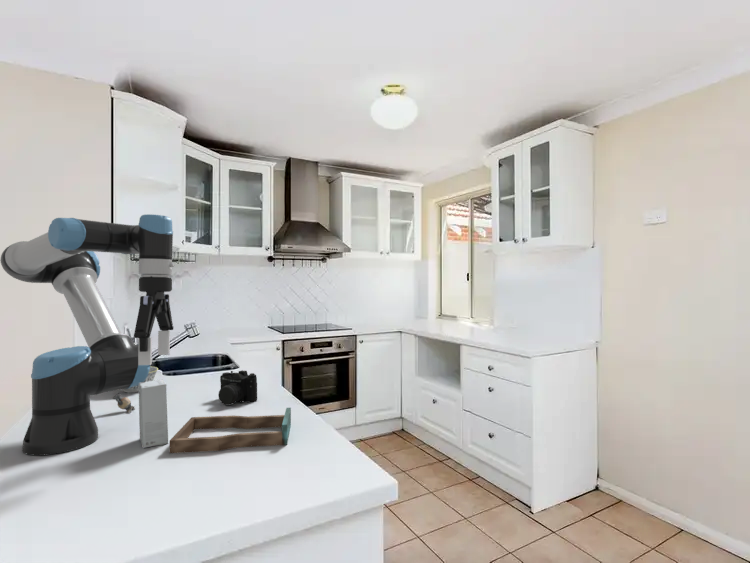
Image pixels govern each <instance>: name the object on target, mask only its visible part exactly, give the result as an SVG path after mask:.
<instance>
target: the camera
mask: <svg viewBox="0 0 750 563" xmlns="http://www.w3.org/2000/svg"><path fill="white" fill-rule="evenodd" d="M233 371H234V370H230V372H223V373H222V374H221V375H220V378H219V379H220V380H219V381H220V388H219V391H218V400H219V402H220V403H221V404H222V405H224V406H231V405H233V404H235V403H256V402H257V401H258V380H257V377H258V376H257V374H256V373H255V372H251V373H249V374H248V371H247V370H243V369H242V370H238V372H233Z"/></svg>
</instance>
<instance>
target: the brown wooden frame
mask: <svg viewBox="0 0 750 563" xmlns="http://www.w3.org/2000/svg"><path fill="white" fill-rule="evenodd" d="M291 409H292V407H286V408H285V413H284V414H277V415H251V416H245V415H244V416H243V415H215V416H212V415H211V416H194V417H193V416H192V417H190V418H189V420H187V422H185V424H183V425H182V427H181V428H179V430H178V431H177V432H176V433H175V434H174V435H173V437H171V438H170V440H169V454H185V453H187V454H188V453H201V452H203V453H204V452H205V453H206V452H218V451H219V452H220V451H225V450H230V449H236V448H248V447H249V448H252V447H253V448H254V447H269V446H270V447H271V446H272V447H273V446H287V445H288V443H289V436H290V431H291V427H292V426H291V425H292V410H291ZM231 428H232V429H243V430H245V429H246V430H247V429H248V430H250V429H251V430H253V429H254V430H255V429H270V428H275V429H277V428H281V430H279V431H277V430H276V431H262V432H261V431H260V432H258V431H257V432H239V433H232V434H226V435H221V436H202V437H201V436H200V437H199V436H197V437H190V436H191V435H192V433H194V431H195V430H210V429H211V430H212V429H231Z"/></svg>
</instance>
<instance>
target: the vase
mask: <svg viewBox="0 0 750 563" xmlns="http://www.w3.org/2000/svg"><path fill="white" fill-rule="evenodd" d="M112 400H114V401H116V402H117V407H118V408H120V410H126V413H127V414H131V413H132V410H133V411H135V409H136V407H135V406H136V405H132V403H131V399H129V398H128V397H126V396H125V397H123V396H122V395H121V393H117V394H116V395H115V396H113V397H112Z"/></svg>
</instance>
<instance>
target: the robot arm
mask: <svg viewBox="0 0 750 563" xmlns="http://www.w3.org/2000/svg"><path fill="white" fill-rule="evenodd" d="M138 221H139V222H138V224H136V225H135V224H134V225H133V224H122V223H114V222H105V221H96V220H87V219H79V218H74V217H56V218H54V219H52V221H51V222H50V223H49V226H48V231H47V232H46V233H43V234H41V235H39V236H36V237H34V238H32V239H30V240H28V241H27V240H26V241H24V240H23V241H22V240H21V241H16V242H15V243H12V244H10V245H8V246H7V247H5V249H4V250H3V251H2V253H1V254H0V264H1V267H2V270H3V271H5V273H6V274H8V275H9V276H10V277H12V278H14V279H15V280H18V281H20V282H25V283H31V284H33V283H35V284H51V286H52V287H53V288H54V291H55V292H57V293H59V294H61V295H63V296H64V298H65V300H66V302H67V304H68V306H69V308H70V311H71V313H72V315H73V317H74V319H75V321H76V324H77V325H78V328H79V330H80V332H81V334H82V336H83V338H84V340H85V342H86V344H87V346H86V345H85V346H84V345H83V346H82V345H78V346H72V347H64V348H63V347H62V348H58V349H54V350H50V351H47V352H44V353H41V354H39V355H38V356H36V357H35V358H34V360H33V362H32V370H31V374H30V378H31V418H30V422H29V423H28V427H27V430H26V431H25V435H24V437H23V440H22V452H23V454H25V453H27V454H26V455H29V454H34V455H33V456H47V455H46V454H49V455H55V454H56V453H57V454H62V453H65V452H66V453H67V452H70V451H74V450H78V449H81V448H84V447H86V446H89V445H90V444H93V443H95V442H96V441H97V440H98V439H99V428H98V425H97V422H96V419H95V417H94V415H93V412H92V410H91V397H92V396H97V395H101V394H102V395H103V394H107V393H111V392H115V391H120V390H123V389H129V388H130V387H134V386H138V385H139V383H141V382H144V381H145V380H146V378H147V376H148V374H149V370H150V366H152V360H153V357H152V355H153V353H152V352H153V348H152V347H153V346H152V345H153V344H152V343H153V342H152V341H153V337H151V334H152V330H153V327H154V323H155V320H156V321H157V325H158V328H159V330H158V331H157V334H158V335H157V343H158V344H157V355H158V356H169V355H171V354H170V351H171V350H170V349H171V348H170V347H171V346H170V345H171V344H170V342H171V341H170V340H171V338H170V337H171V331H173V330H174V325H173V324H174V323H173V319H172V318H173V317H172V313H171V312H172V311H171V307H170V306H171V304H170V294H168V292H171V291H172V290H173V278H172V277H170V276H172V274H173V267H175V263H173V243H174V242H173V239H174V231H173V220H172V218H171V217H169V216H167V215H161V214H151V213H150V214H142V215H141V216H140V217H139V220H138ZM95 252H96V253H98V252H99V253H113V254H121V255H130V256H132V255H138V274H139V275H140V277H139V278H138V291H139V292H140V293H141V292H142V293H146V294H145V295H140V297H139V308H138V314H137V318H136V323H135V329H134V333H133V338H134V339H138V343H137V344H134V341H133V340H132V338H131V337H130V335H128V334H125V333H122V332H121V330H120V328H119V326H118V324H117V322H116V320H115V318H114V317H113V314H112V313H111V311H110V309H109V307H108V305H107V303H106V301H105V299H104V298H103V295H102V293H101V292H100V289H99V288H98V285H97V284H96V282H97V281H98V279H99V277H100V273H101V266H100V260H99V257H98V255H97V254H96V253H95ZM165 293H167V294H165ZM44 454H45V455H44Z"/></svg>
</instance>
